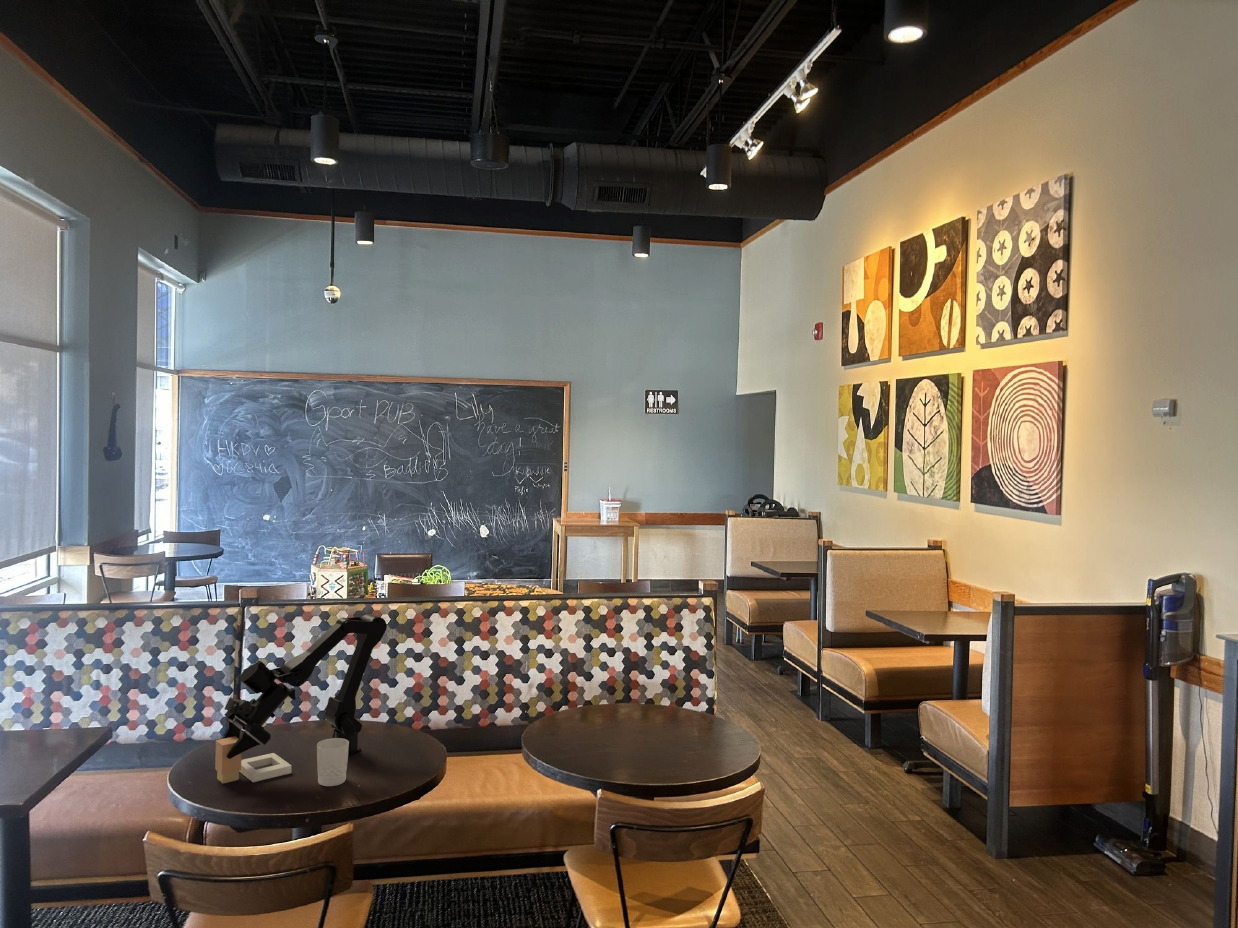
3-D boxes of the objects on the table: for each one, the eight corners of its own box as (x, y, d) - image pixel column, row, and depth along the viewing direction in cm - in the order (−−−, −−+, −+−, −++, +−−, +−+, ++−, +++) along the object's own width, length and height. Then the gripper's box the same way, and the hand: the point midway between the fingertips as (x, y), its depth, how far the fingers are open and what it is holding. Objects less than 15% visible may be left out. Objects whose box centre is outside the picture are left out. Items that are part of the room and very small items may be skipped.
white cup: (320, 775, 223) (321, 737, 223) (351, 775, 224) (352, 737, 224) (312, 787, 215) (313, 748, 215) (343, 787, 216) (344, 748, 216)
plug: (234, 774, 222) (235, 736, 222) (240, 779, 219) (241, 741, 219) (214, 778, 219) (215, 740, 219) (221, 784, 216) (222, 745, 215)
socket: (273, 759, 233) (273, 752, 233) (291, 772, 224) (291, 765, 224) (235, 768, 226) (236, 761, 226) (252, 782, 217) (252, 774, 217)
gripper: (233, 678, 228) (188, 727, 221) (259, 693, 215) (212, 746, 207) (262, 701, 234) (219, 750, 226) (289, 718, 220) (244, 771, 213)
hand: (222, 753), depth 218 cm, fingers open, 7 cm apart
